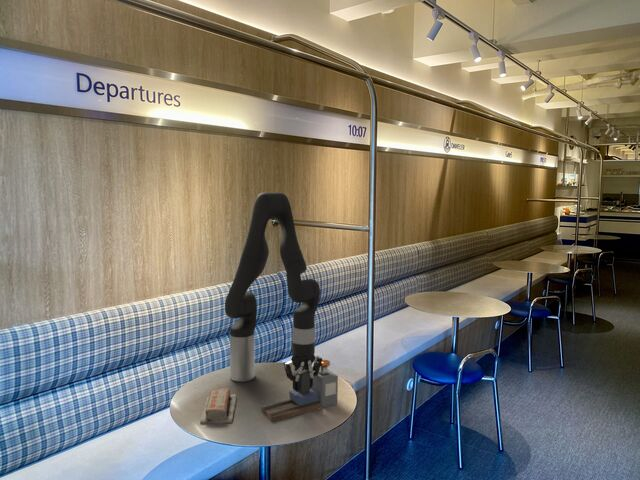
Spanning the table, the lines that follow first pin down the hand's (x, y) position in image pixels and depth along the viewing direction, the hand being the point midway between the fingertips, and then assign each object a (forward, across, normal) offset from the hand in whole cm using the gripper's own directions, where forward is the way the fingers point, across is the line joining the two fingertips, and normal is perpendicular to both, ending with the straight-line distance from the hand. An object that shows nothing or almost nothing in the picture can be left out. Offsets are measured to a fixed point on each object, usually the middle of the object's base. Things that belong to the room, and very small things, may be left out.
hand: (302, 389), depth 158 cm
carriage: (+4, 0, 0) cm, 4 cm away
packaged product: (+7, +25, -12) cm, 28 cm away
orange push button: (-2, -8, 0) cm, 8 cm away
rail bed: (+6, +4, 0) cm, 7 cm away
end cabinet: (+6, -8, 0) cm, 10 cm away
